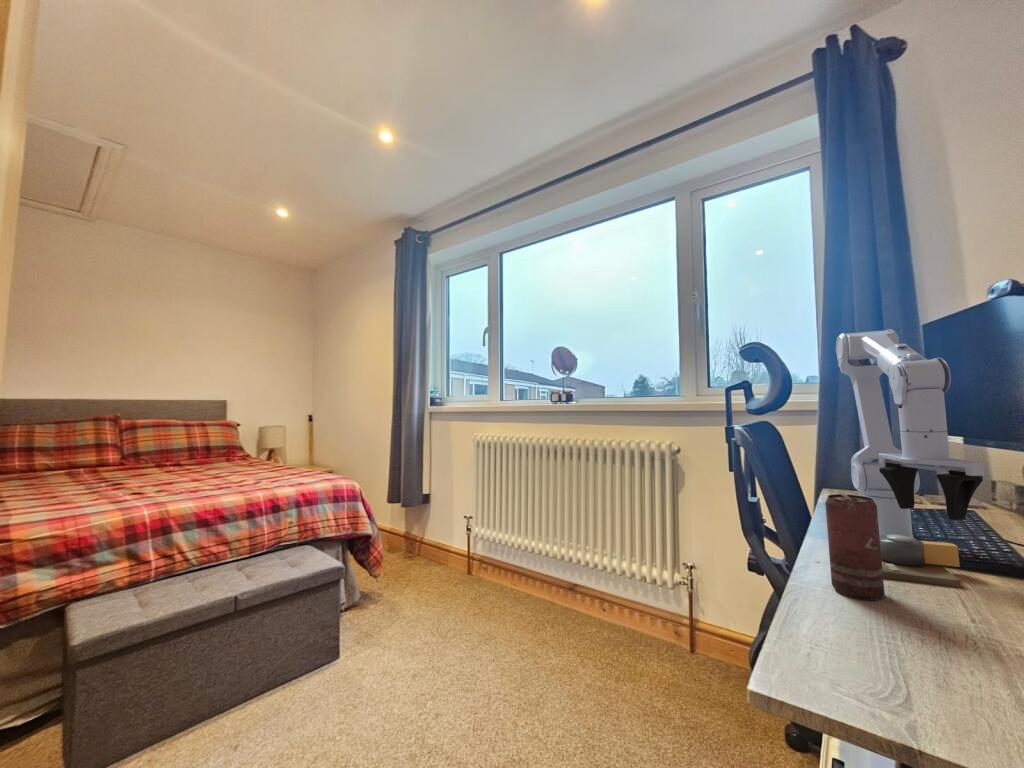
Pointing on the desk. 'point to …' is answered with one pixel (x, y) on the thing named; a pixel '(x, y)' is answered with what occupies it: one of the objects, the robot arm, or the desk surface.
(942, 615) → the desk surface
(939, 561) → the toy saucepan
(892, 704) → the desk surface
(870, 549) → the can
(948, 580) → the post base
